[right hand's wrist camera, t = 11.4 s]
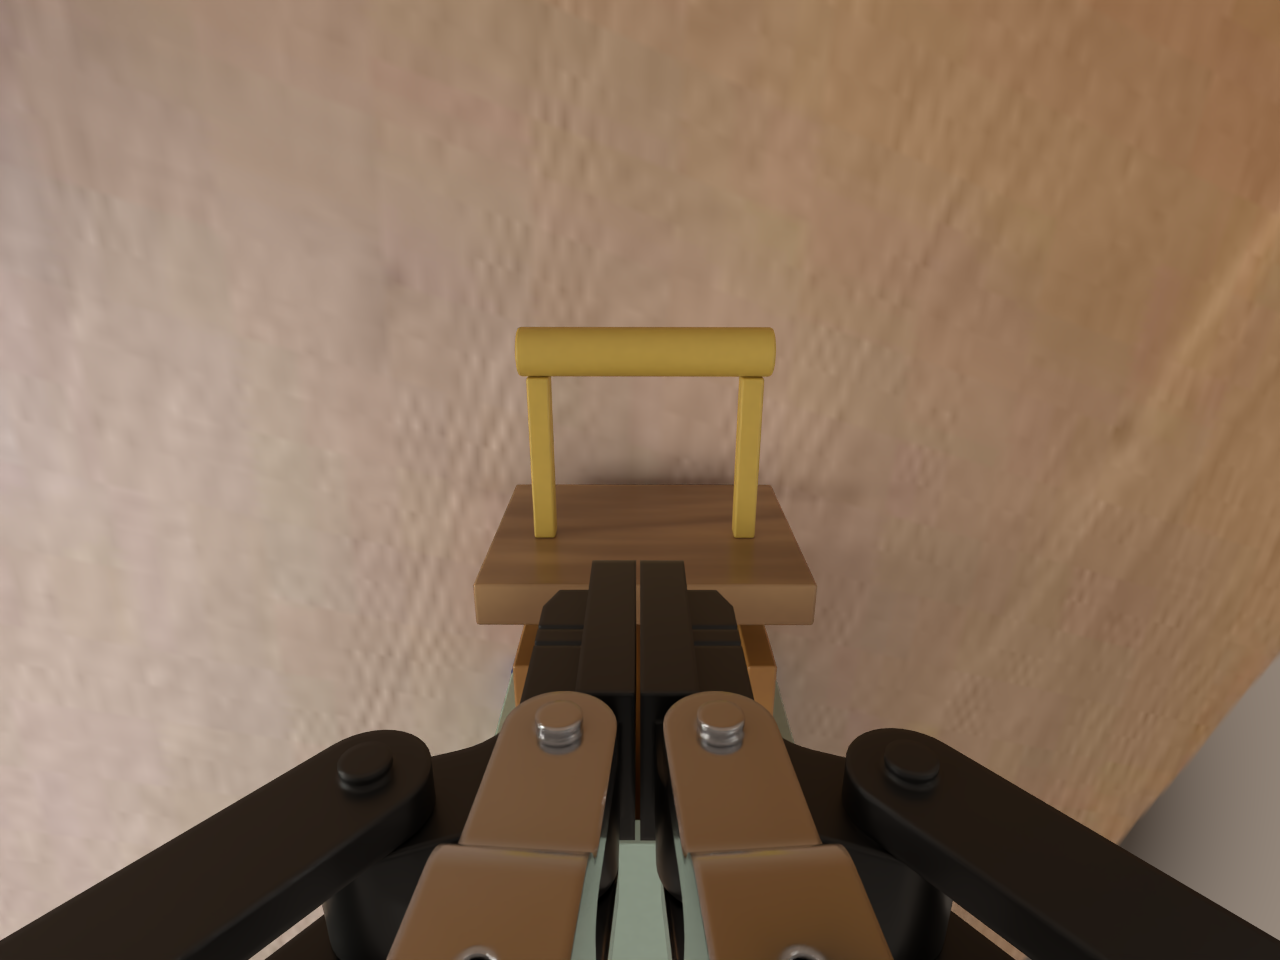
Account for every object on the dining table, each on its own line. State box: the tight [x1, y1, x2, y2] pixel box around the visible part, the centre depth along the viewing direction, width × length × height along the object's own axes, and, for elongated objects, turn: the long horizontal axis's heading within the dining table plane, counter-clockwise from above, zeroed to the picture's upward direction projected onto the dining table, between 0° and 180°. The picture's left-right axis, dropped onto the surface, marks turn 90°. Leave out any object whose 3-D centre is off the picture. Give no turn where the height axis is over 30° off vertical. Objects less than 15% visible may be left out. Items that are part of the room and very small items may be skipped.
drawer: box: [473, 327, 817, 820], centre depth 24 cm, size 26×9×7 cm, turn 0°
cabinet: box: [495, 668, 794, 960], centre depth 28 cm, size 21×10×9 cm, turn 0°
